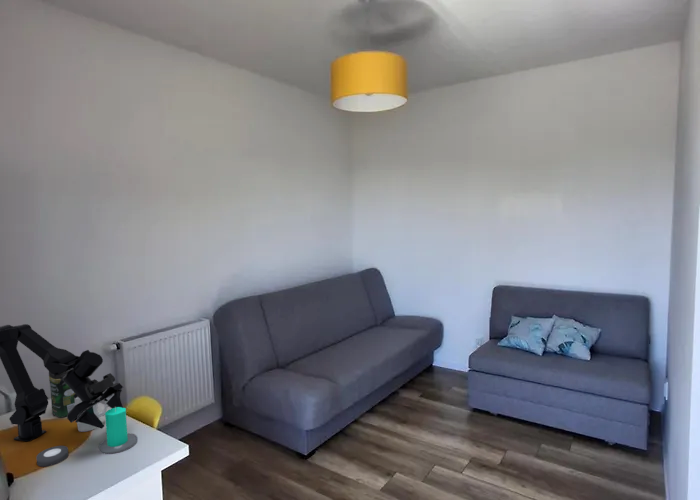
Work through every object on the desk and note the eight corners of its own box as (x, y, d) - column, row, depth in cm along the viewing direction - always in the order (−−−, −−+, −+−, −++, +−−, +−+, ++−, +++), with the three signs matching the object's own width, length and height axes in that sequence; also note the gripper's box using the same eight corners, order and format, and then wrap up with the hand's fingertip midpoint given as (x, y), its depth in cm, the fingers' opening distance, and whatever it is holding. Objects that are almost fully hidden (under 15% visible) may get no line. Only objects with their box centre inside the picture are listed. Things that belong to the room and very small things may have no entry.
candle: (117, 448, 136) (115, 411, 135) (102, 445, 138) (99, 409, 137) (132, 438, 142) (129, 403, 141) (117, 436, 144) (115, 401, 143)
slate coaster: (90, 451, 136) (90, 449, 136) (116, 434, 147) (116, 431, 147) (120, 455, 134) (120, 453, 134) (144, 437, 144) (144, 435, 144)
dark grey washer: (30, 465, 129) (29, 458, 129) (53, 450, 137) (53, 444, 137) (52, 467, 128) (51, 461, 128) (74, 453, 136) (74, 446, 135)
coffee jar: (48, 413, 163) (44, 365, 162) (71, 405, 170) (68, 359, 168) (59, 420, 158) (55, 370, 156) (83, 411, 164) (79, 364, 162)
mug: (78, 434, 147) (75, 400, 146) (75, 427, 152) (73, 394, 151) (111, 425, 153) (109, 392, 152) (107, 418, 159) (105, 386, 157)
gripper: (72, 380, 130) (106, 418, 129) (116, 359, 148) (147, 392, 147) (52, 403, 132) (85, 441, 131) (98, 380, 150) (128, 413, 149)
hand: (113, 420), depth 140 cm, fingers open, 9 cm apart
